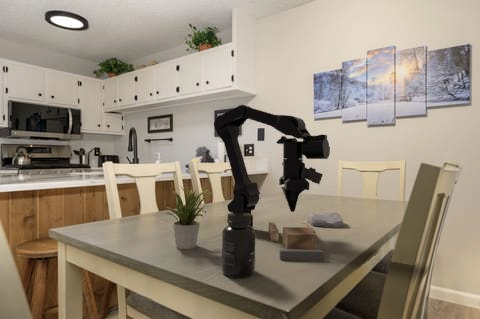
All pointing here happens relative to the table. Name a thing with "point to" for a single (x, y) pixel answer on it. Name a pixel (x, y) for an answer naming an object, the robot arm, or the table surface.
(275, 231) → the oak chute
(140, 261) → the table surface
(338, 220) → the stone block
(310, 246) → the walnut block
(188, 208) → the house plant
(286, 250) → the bar
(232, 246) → the supplement bottle
